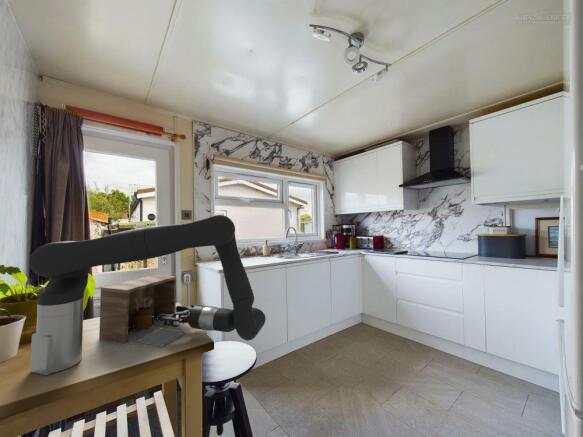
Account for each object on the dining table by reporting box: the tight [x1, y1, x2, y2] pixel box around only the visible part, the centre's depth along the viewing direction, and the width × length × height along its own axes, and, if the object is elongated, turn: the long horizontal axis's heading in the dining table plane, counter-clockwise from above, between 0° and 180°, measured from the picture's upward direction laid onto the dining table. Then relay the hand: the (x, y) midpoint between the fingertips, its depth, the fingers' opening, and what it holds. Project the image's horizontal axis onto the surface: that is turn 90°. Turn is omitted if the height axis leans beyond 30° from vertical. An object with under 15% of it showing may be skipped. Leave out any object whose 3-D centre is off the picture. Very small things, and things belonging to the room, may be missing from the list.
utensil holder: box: [132, 296, 153, 332], centre depth 90 cm, size 6×6×12 cm
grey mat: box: [137, 327, 186, 347], centre depth 82 cm, size 10×10×1 cm
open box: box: [98, 274, 177, 345], centre depth 90 cm, size 22×11×17 cm, turn 164°
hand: (167, 312), depth 87 cm, fingers open, 8 cm apart
